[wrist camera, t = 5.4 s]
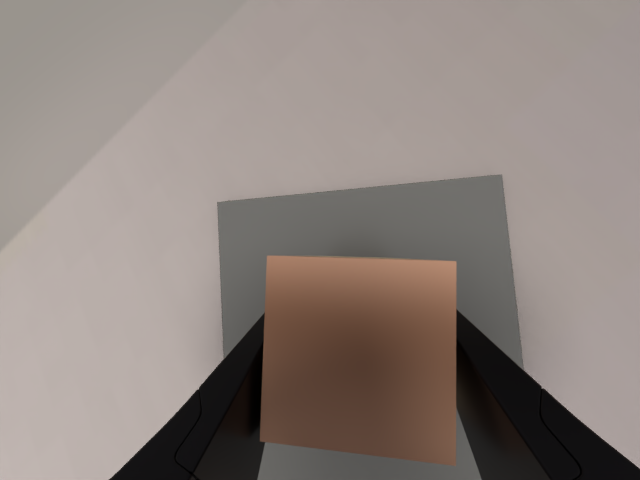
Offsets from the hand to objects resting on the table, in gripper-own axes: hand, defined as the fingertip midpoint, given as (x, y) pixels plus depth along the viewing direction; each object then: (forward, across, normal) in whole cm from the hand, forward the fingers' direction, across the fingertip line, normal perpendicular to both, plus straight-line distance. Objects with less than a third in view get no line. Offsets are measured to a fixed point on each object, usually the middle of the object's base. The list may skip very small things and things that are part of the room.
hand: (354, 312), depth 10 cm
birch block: (+9, 0, +7) cm, 12 cm away
